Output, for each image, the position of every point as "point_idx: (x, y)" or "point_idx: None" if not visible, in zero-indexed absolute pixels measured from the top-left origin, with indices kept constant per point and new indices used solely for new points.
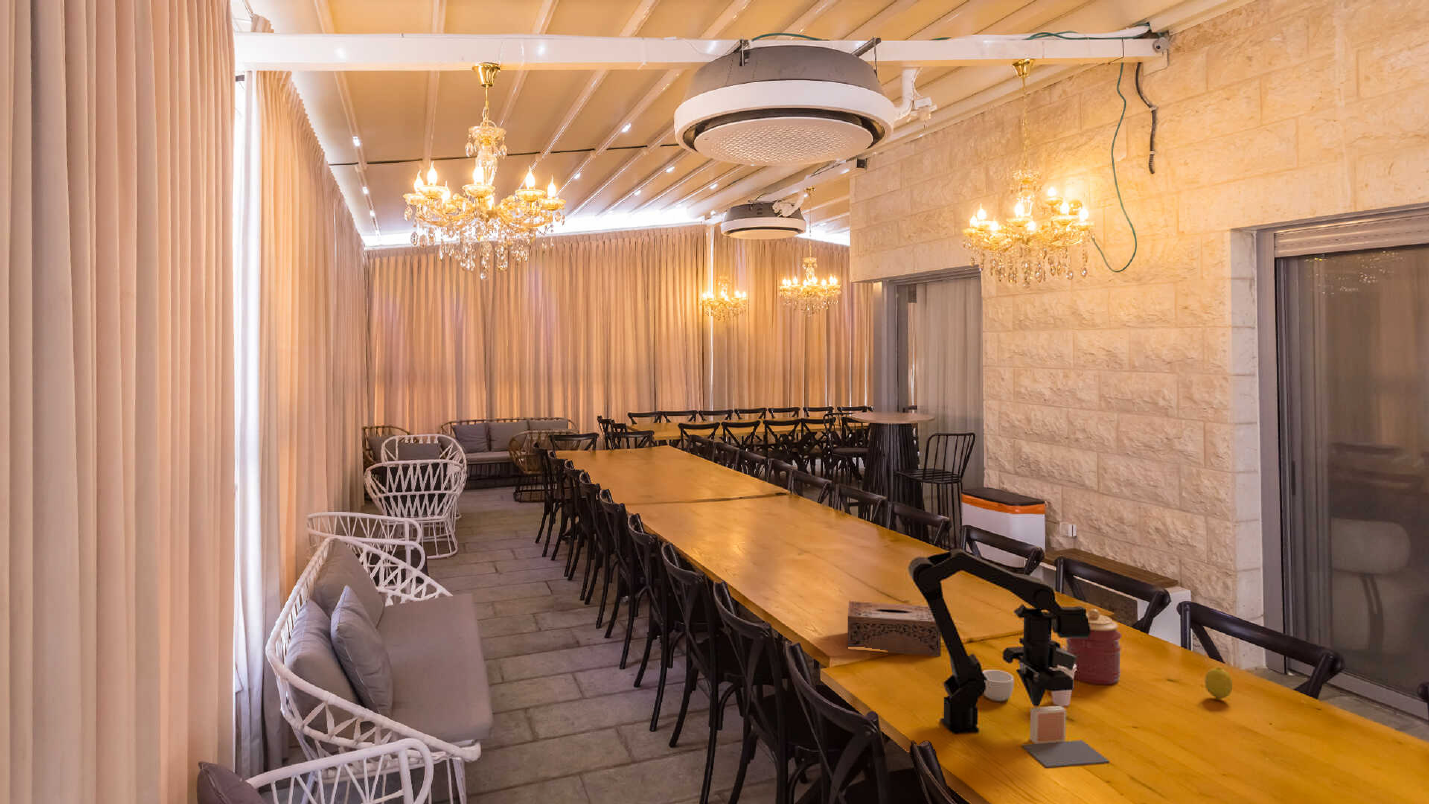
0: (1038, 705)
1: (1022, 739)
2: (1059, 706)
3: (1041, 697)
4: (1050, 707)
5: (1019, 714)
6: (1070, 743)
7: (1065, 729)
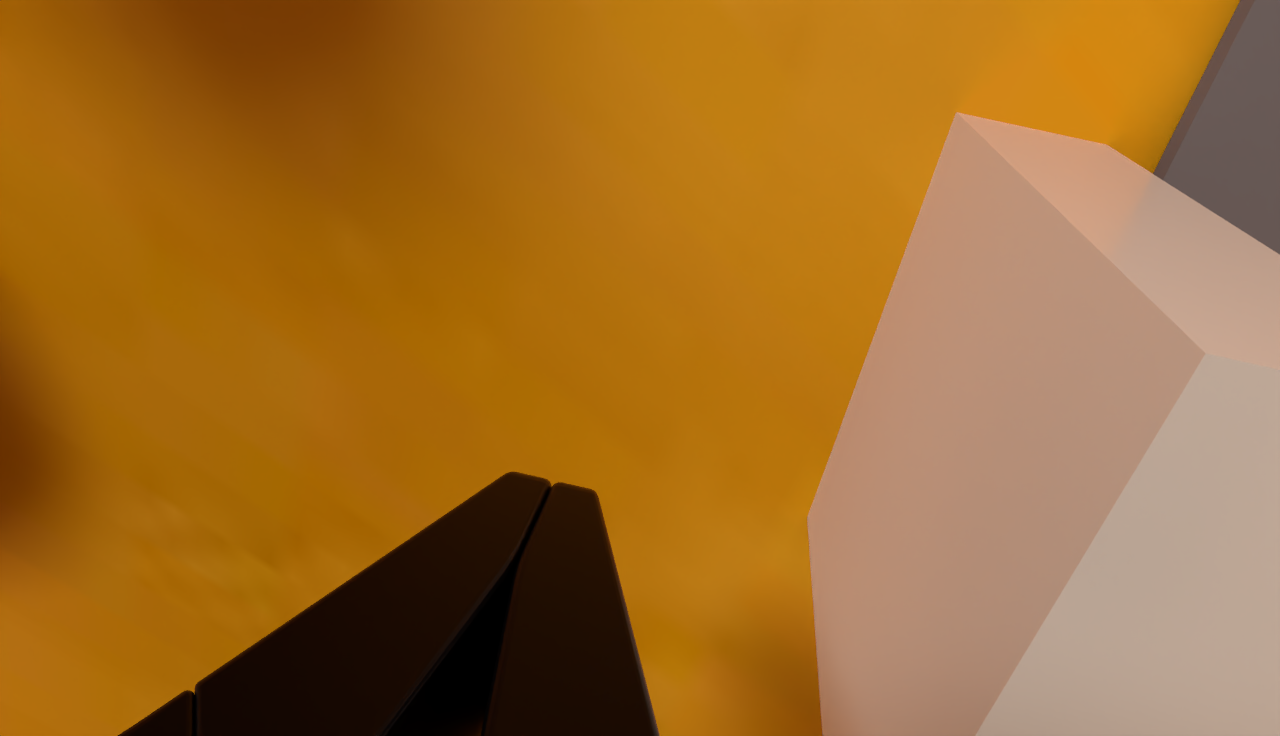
0: (596, 514)
1: (771, 585)
2: (1220, 427)
3: (631, 689)
4: (1080, 683)
5: (143, 133)
6: (1256, 174)
7: (1198, 203)
